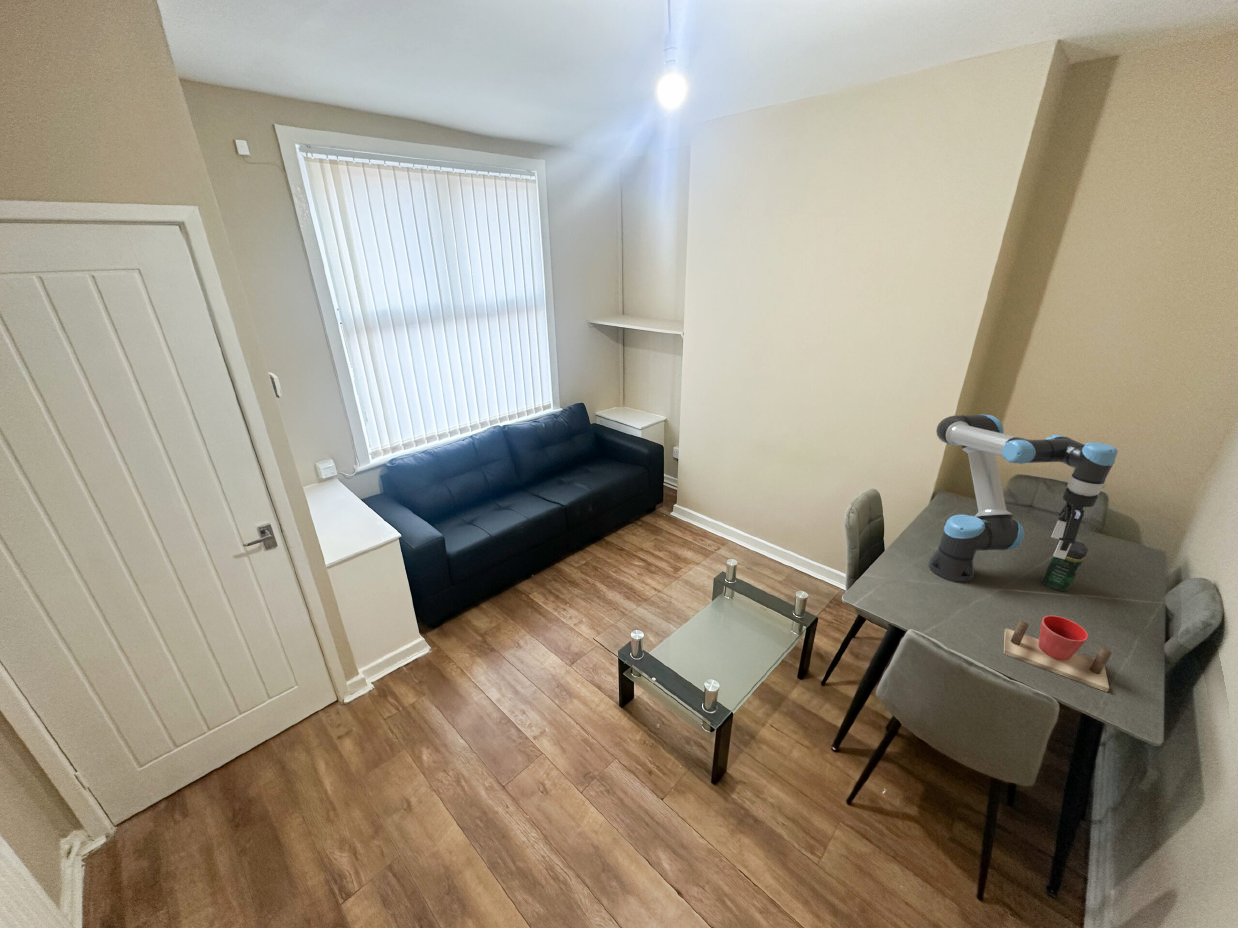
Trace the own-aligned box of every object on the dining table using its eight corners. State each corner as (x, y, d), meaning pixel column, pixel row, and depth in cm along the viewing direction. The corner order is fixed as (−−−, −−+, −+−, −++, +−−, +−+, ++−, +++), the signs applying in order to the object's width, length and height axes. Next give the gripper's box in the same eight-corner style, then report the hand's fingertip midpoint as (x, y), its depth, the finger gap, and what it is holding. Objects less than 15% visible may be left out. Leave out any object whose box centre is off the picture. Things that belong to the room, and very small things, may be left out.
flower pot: (1033, 654, 147) (1044, 631, 143) (1030, 633, 155) (1041, 610, 151) (1078, 670, 142) (1091, 646, 138) (1073, 647, 150) (1085, 623, 146)
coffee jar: (1064, 595, 174) (1084, 553, 166) (1038, 583, 180) (1056, 543, 172) (1073, 585, 179) (1092, 544, 171) (1047, 574, 185) (1064, 534, 177)
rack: (1003, 653, 150) (1013, 631, 146) (1004, 631, 158) (1013, 609, 154) (1107, 692, 136) (1121, 668, 132) (1101, 665, 145) (1114, 642, 141)
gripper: (1104, 511, 136) (1076, 570, 145) (1094, 479, 154) (1069, 534, 163) (1069, 503, 140) (1044, 561, 149) (1063, 473, 158) (1041, 527, 167)
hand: (1057, 547), depth 156 cm, fingers open, 13 cm apart
